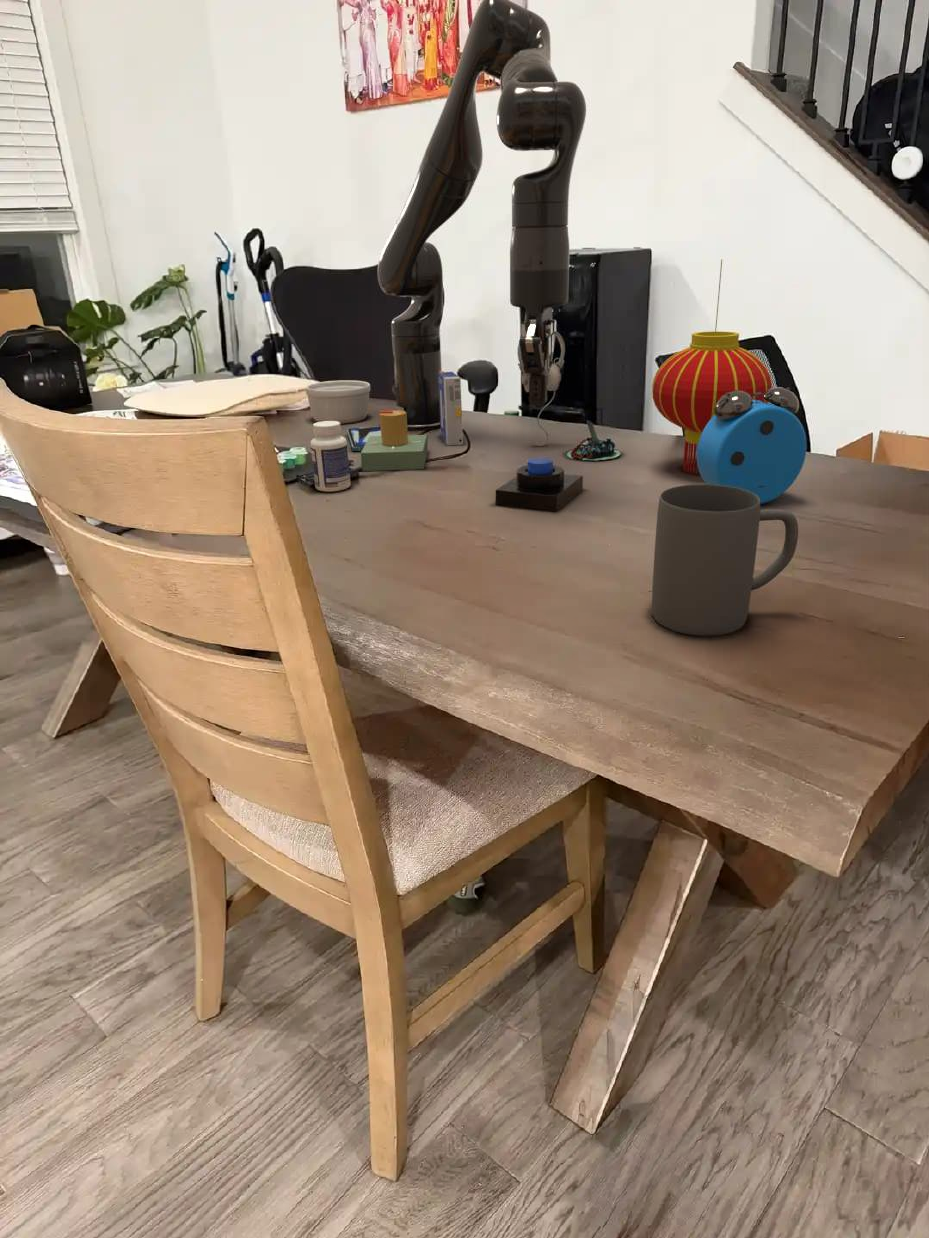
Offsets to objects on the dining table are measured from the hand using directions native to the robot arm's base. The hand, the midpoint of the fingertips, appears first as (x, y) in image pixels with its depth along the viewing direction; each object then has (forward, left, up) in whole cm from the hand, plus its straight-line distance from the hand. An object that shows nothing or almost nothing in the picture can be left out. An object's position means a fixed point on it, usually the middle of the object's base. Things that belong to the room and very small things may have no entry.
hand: (538, 403), depth 115 cm
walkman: (-33, -23, -13) cm, 42 cm away
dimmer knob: (-17, -28, -10) cm, 34 cm away
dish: (-26, +4, -13) cm, 29 cm away
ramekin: (-49, -52, -13) cm, 72 cm away
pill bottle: (0, -32, -13) cm, 34 cm away
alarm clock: (-3, +28, -13) cm, 31 cm away
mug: (+36, +25, -13) cm, 46 cm away
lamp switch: (0, 0, -13) cm, 13 cm away
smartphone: (-30, -38, -13) cm, 50 cm away
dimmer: (-17, -28, -13) cm, 35 cm away
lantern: (-19, +22, -13) cm, 32 cm away
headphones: (-31, -6, -13) cm, 34 cm away
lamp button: (0, 0, -9) cm, 10 cm away
